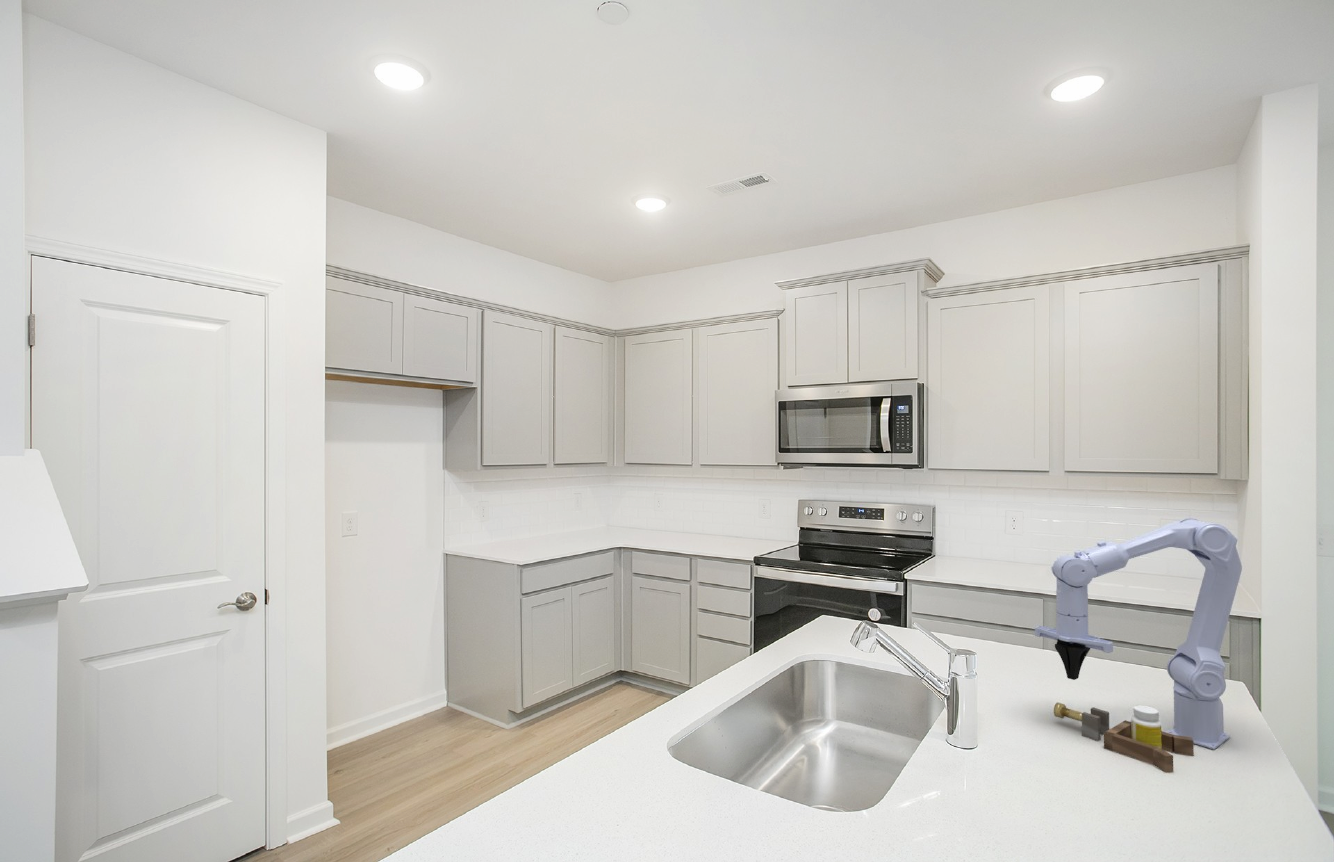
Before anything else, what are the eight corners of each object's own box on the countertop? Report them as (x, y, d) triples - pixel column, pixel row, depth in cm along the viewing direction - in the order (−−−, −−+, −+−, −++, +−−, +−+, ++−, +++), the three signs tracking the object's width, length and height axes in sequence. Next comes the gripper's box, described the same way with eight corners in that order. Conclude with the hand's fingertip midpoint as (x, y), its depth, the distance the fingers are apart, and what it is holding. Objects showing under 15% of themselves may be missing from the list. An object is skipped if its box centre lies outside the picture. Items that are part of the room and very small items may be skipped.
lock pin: (1060, 714, 144) (1060, 701, 144) (1097, 726, 138) (1097, 712, 138) (1053, 718, 142) (1053, 704, 142) (1090, 730, 136) (1090, 715, 136)
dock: (1101, 724, 142) (1101, 703, 142) (1196, 754, 128) (1195, 730, 128) (1073, 741, 134) (1072, 718, 134) (1170, 774, 121) (1170, 748, 121)
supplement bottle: (1167, 758, 127) (1167, 714, 127) (1142, 758, 127) (1141, 714, 127) (1151, 747, 131) (1150, 704, 131) (1126, 746, 132) (1125, 704, 132)
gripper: (1027, 609, 144) (1028, 672, 144) (1102, 624, 132) (1102, 693, 132) (1043, 604, 148) (1044, 665, 148) (1117, 618, 136) (1117, 685, 136)
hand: (1072, 678), depth 140 cm, fingers closed
